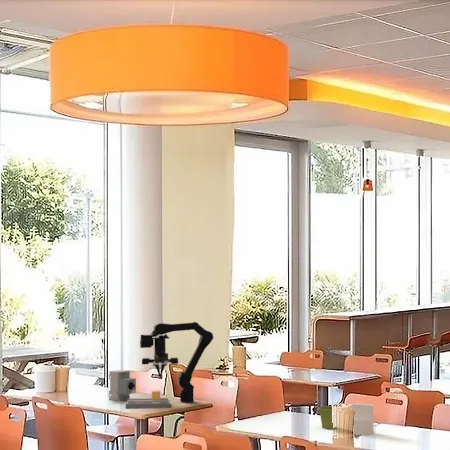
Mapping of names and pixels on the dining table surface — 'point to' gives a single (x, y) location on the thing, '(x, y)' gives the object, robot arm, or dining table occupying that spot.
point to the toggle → (155, 395)
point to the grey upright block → (363, 419)
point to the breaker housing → (147, 403)
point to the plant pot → (326, 417)
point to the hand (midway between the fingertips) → (160, 377)
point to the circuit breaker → (121, 385)
